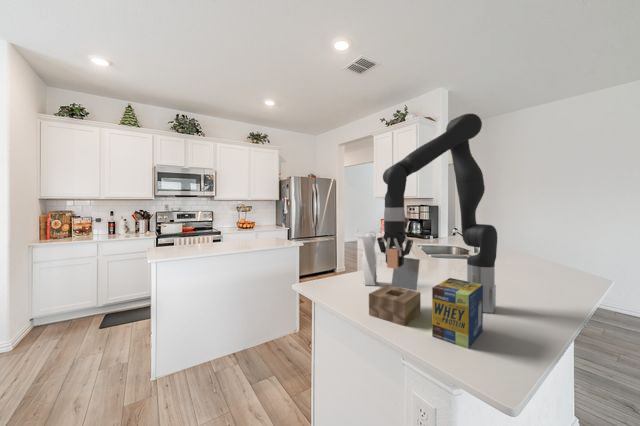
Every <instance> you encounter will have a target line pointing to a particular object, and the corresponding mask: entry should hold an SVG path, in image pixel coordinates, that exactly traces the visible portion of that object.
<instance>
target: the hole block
mask: <svg viewBox="0 0 640 426" xmlns="http://www.w3.org/2000/svg"><path fill="white" fill-rule="evenodd" d="M421 301H422V300H421V292H420V291H415V290H411V289H406V288H401V287H396V286H391V285H384V286H382V287H380V288H377V289H375V290H373V291H371V292H368V315H369V316H370V317H374V318H377V319H380V320H384V321H387V322H391V323H394V324H398V325H400V326H403V327H405V326H407V325H408V324H410V322H411V321H413V320H414V319H415V318H417V317H418V316H419V315H420V314H421Z"/></svg>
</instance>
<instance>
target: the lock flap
mask: <svg viewBox="0 0 640 426" xmlns="http://www.w3.org/2000/svg"><path fill="white" fill-rule="evenodd" d="M392 269H393V270H392V271H393V272H392V278H391V279H392V280H391V285H390V286H393V287H397V288H402V289H407V290H412V291H416V292H418V290H417V289H418V282H419V281H418V279H419V269H420V259H419V258H411V257H410V258H409V257H404V264H403V265H402V267H401V268H398V269H394V268H392Z"/></svg>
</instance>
